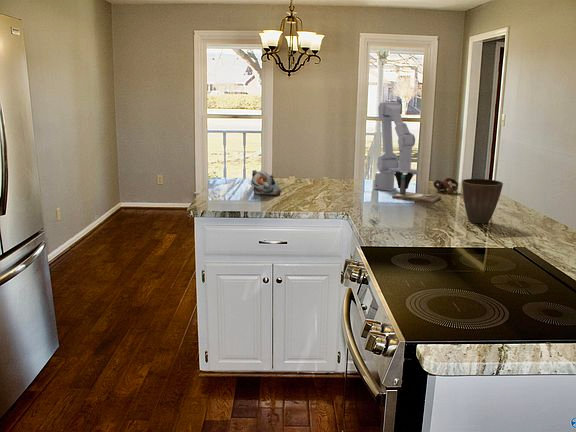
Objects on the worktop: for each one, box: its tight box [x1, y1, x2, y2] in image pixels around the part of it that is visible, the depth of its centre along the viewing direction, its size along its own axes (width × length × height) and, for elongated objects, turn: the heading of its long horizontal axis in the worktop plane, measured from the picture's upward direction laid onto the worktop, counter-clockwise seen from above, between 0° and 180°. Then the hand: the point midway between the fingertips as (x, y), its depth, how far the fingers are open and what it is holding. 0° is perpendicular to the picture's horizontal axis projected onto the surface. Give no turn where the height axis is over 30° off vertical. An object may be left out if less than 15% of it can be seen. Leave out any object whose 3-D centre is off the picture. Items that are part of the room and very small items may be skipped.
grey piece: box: [251, 169, 283, 196], centre depth 255 cm, size 15×12×14 cm
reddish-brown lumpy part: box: [433, 177, 459, 195], centre depth 272 cm, size 12×10×8 cm
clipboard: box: [392, 191, 442, 204], centre depth 256 cm, size 19×14×1 cm
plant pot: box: [461, 178, 504, 224], centre depth 210 cm, size 15×15×16 cm
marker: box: [399, 173, 407, 194], centre depth 258 cm, size 3×3×9 cm
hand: (403, 188), depth 258 cm, fingers closed on marker, 3 cm apart
